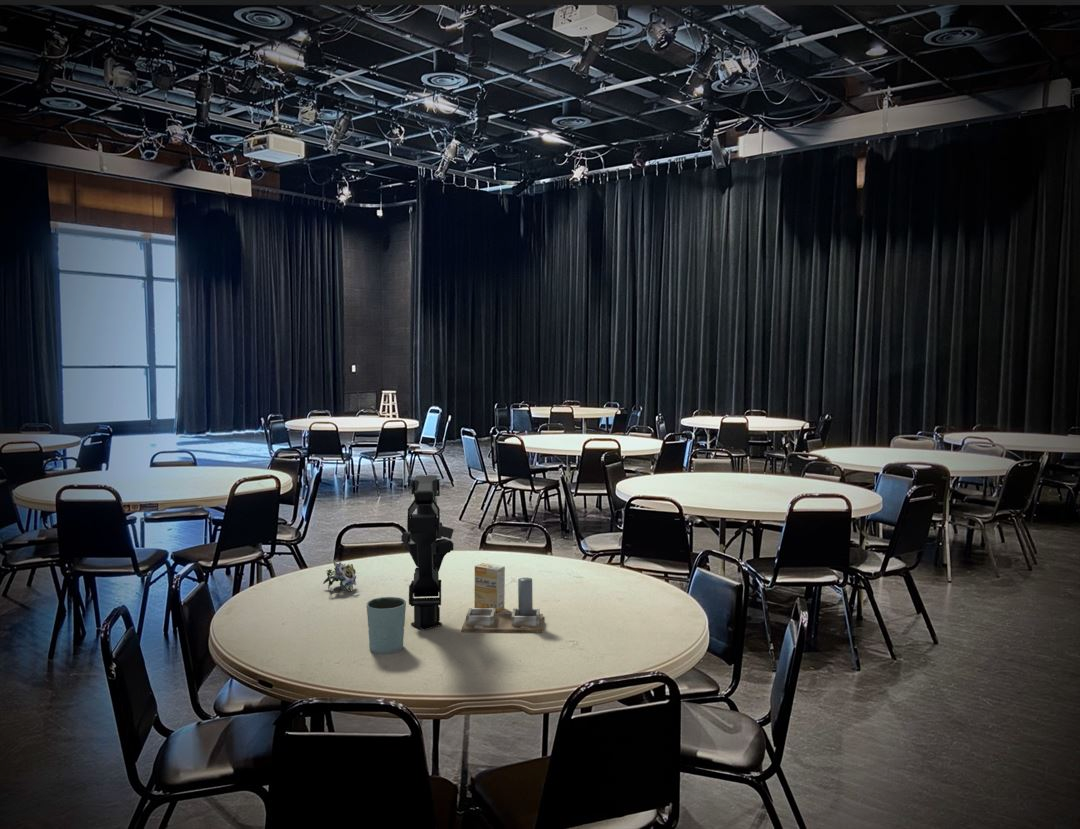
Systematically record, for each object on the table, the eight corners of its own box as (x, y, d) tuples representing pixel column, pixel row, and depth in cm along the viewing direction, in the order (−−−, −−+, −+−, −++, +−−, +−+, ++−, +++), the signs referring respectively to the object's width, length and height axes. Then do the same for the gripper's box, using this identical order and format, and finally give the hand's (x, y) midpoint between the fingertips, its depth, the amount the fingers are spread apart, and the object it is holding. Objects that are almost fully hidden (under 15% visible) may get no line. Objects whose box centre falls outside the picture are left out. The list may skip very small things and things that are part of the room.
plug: (530, 624, 220) (529, 581, 220) (516, 622, 222) (516, 580, 221) (534, 619, 224) (534, 578, 224) (521, 618, 225) (520, 577, 225)
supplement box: (473, 608, 238) (473, 565, 237) (482, 604, 242) (481, 562, 241) (497, 612, 234) (497, 569, 233) (505, 608, 238) (505, 565, 237)
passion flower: (350, 607, 257) (350, 583, 250) (317, 601, 257) (316, 577, 250) (360, 580, 266) (361, 557, 259) (329, 574, 266) (328, 551, 259)
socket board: (461, 631, 216) (461, 619, 216) (467, 616, 230) (467, 604, 230) (541, 632, 216) (541, 620, 216) (542, 616, 230) (542, 605, 230)
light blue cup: (389, 638, 211) (388, 594, 210) (414, 647, 205) (414, 601, 204) (358, 649, 203) (358, 603, 203) (384, 658, 197) (383, 610, 196)
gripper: (468, 519, 229) (468, 571, 231) (430, 508, 243) (431, 558, 244) (437, 525, 222) (437, 579, 223) (400, 514, 235) (400, 565, 237)
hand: (427, 569), depth 232 cm, fingers open, 9 cm apart
